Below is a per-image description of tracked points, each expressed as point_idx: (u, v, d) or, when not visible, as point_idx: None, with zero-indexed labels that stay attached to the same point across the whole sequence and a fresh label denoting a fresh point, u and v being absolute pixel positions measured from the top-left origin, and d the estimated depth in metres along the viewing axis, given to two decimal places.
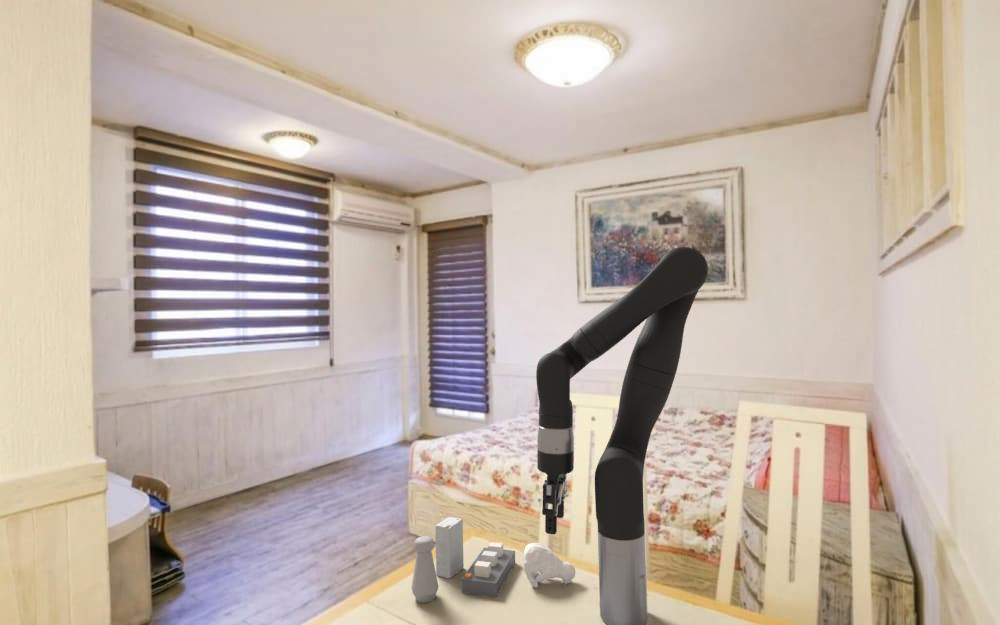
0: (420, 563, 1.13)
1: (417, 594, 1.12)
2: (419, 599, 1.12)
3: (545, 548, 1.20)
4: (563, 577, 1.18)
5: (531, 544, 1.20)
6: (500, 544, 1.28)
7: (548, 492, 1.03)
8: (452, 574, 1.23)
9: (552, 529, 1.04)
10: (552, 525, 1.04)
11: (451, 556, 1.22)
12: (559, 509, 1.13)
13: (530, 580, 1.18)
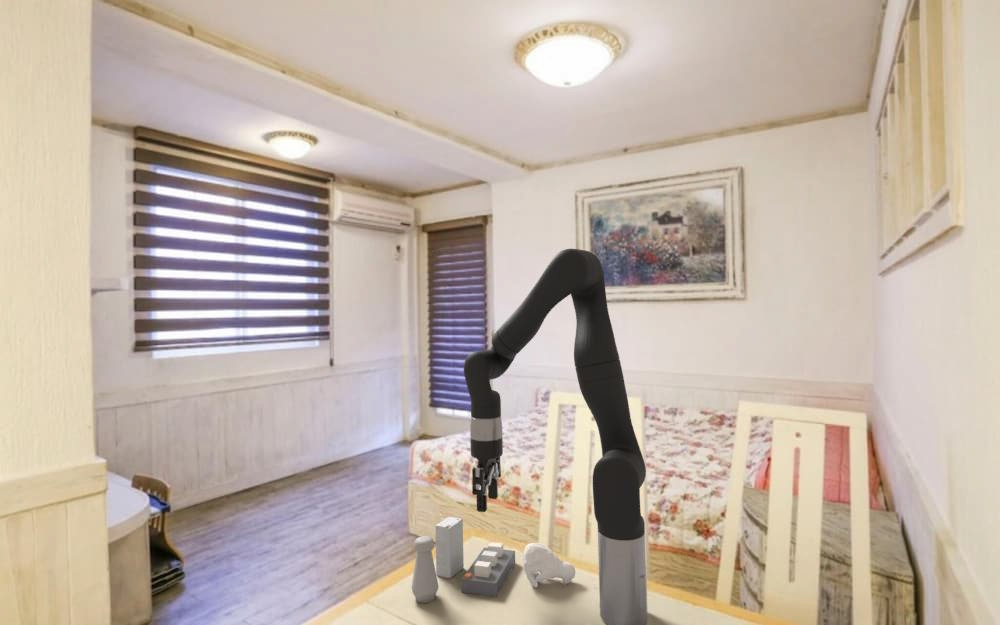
0: (420, 563, 1.13)
1: (417, 594, 1.12)
2: (419, 599, 1.12)
3: (545, 548, 1.20)
4: (563, 577, 1.18)
5: (531, 544, 1.20)
6: (500, 544, 1.28)
7: (477, 474, 1.16)
8: (452, 574, 1.23)
9: (482, 507, 1.18)
10: (482, 504, 1.18)
11: (451, 556, 1.22)
12: (493, 491, 1.26)
13: (530, 580, 1.18)
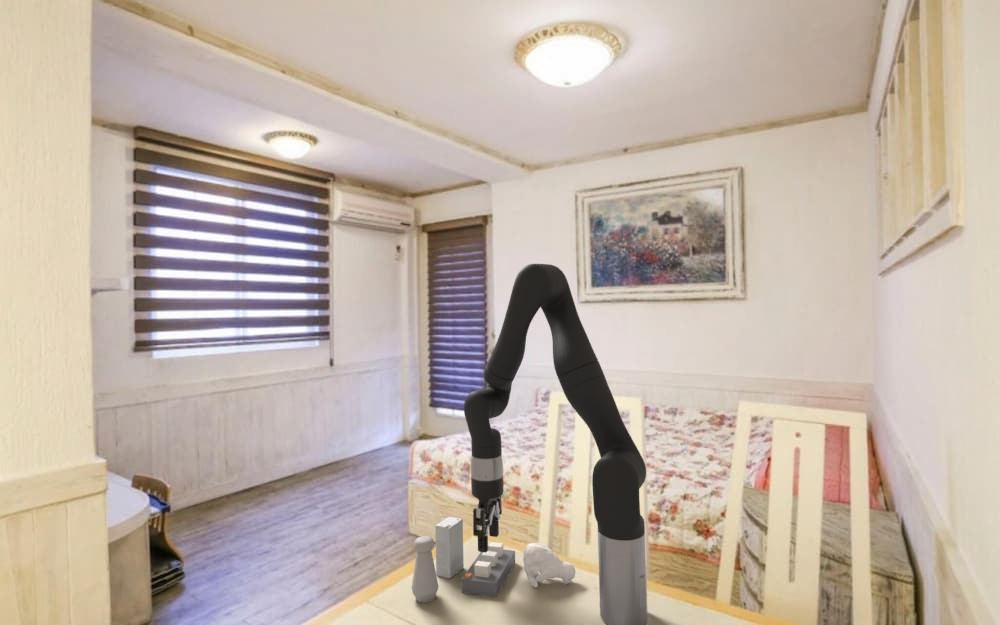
0: (420, 563, 1.13)
1: (417, 594, 1.12)
2: (419, 599, 1.12)
3: (545, 548, 1.20)
4: (563, 577, 1.18)
5: (531, 544, 1.20)
6: (500, 544, 1.28)
7: (478, 515, 1.16)
8: (452, 574, 1.23)
9: (483, 548, 1.18)
10: (483, 544, 1.18)
11: (451, 556, 1.22)
12: (494, 529, 1.26)
13: (530, 580, 1.18)
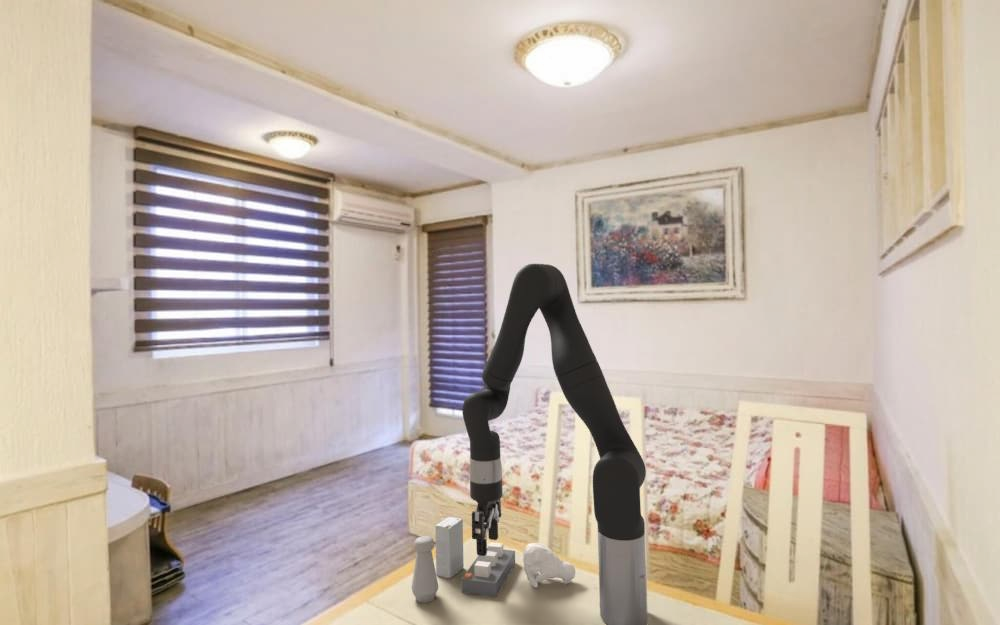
0: (420, 563, 1.13)
1: (417, 594, 1.12)
2: (419, 599, 1.12)
3: (545, 548, 1.20)
4: (563, 577, 1.18)
5: (531, 544, 1.20)
6: (500, 544, 1.28)
7: (476, 518, 1.15)
8: (452, 574, 1.23)
9: (482, 551, 1.16)
10: (482, 548, 1.16)
11: (451, 556, 1.22)
12: (493, 532, 1.25)
13: (530, 580, 1.18)
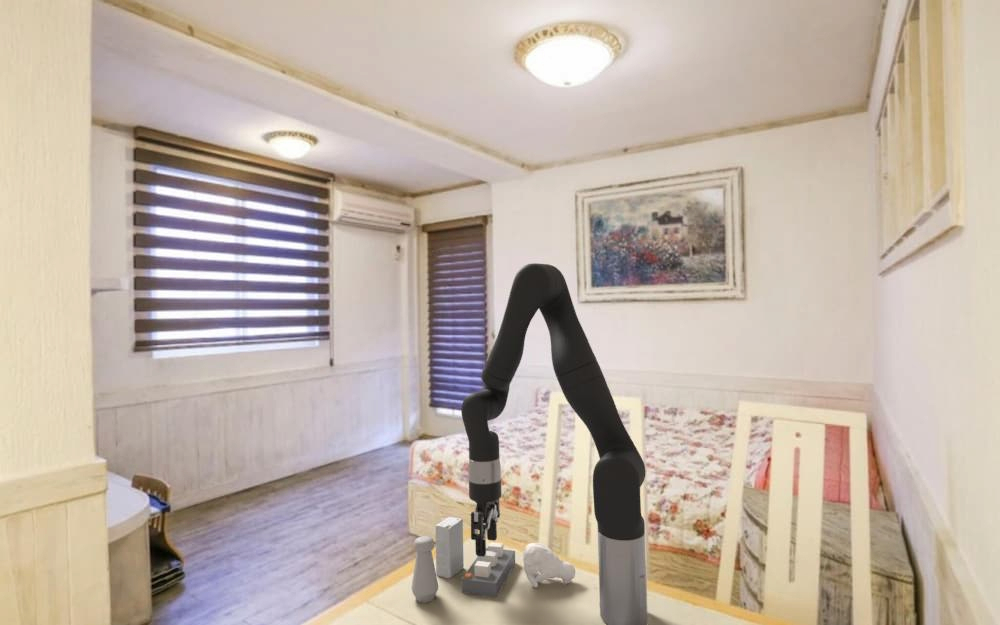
0: (420, 563, 1.13)
1: (417, 594, 1.12)
2: (419, 599, 1.12)
3: (545, 548, 1.20)
4: (563, 577, 1.18)
5: (531, 544, 1.20)
6: (500, 544, 1.28)
7: (475, 519, 1.15)
8: (452, 574, 1.23)
9: (481, 552, 1.16)
10: (481, 548, 1.16)
11: (451, 556, 1.22)
12: (492, 532, 1.25)
13: (530, 580, 1.18)
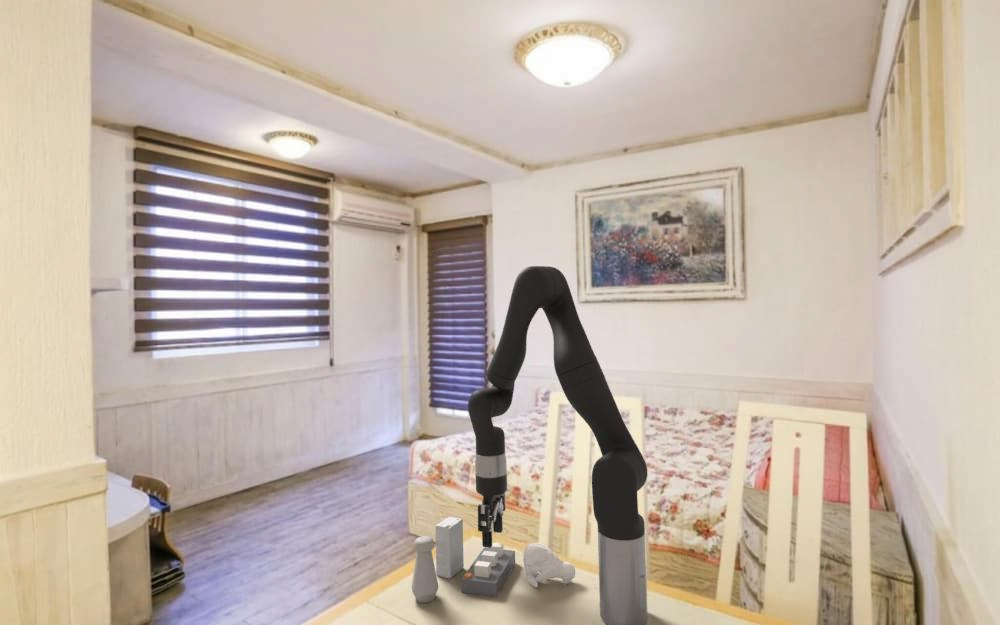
0: (420, 563, 1.13)
1: (417, 594, 1.12)
2: (419, 599, 1.12)
3: (545, 548, 1.20)
4: (563, 577, 1.18)
5: (531, 544, 1.20)
6: (500, 544, 1.28)
7: (482, 511, 1.19)
8: (452, 574, 1.23)
9: (487, 543, 1.20)
10: (487, 540, 1.20)
11: (451, 556, 1.22)
12: (498, 525, 1.29)
13: (530, 580, 1.18)
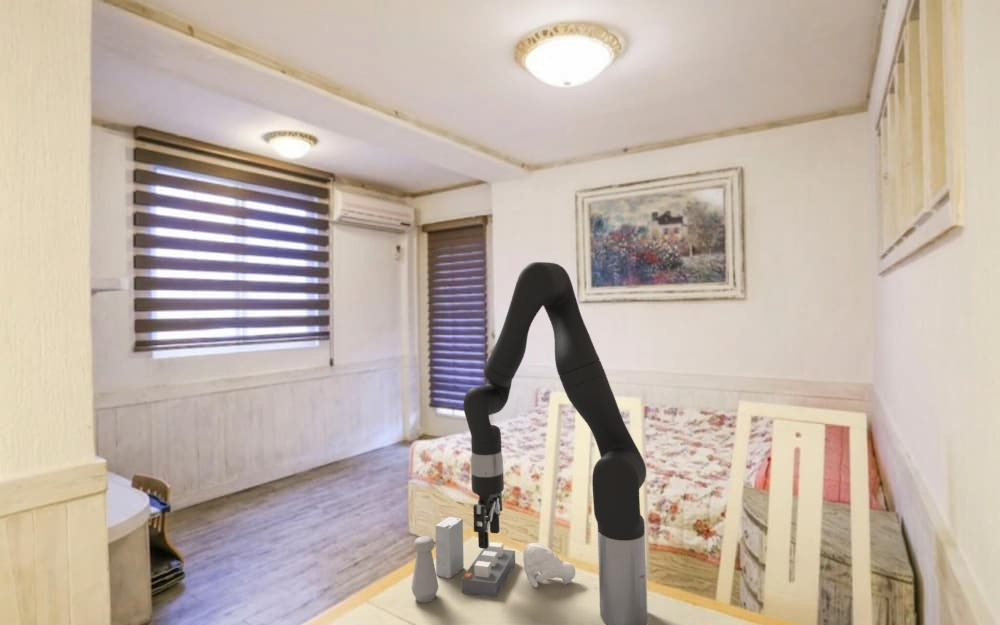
0: (420, 563, 1.13)
1: (417, 594, 1.12)
2: (419, 599, 1.12)
3: (545, 548, 1.20)
4: (563, 577, 1.18)
5: (531, 544, 1.20)
6: (500, 544, 1.28)
7: (478, 511, 1.16)
8: (452, 574, 1.23)
9: (484, 544, 1.18)
10: (484, 540, 1.18)
11: (451, 556, 1.22)
12: (495, 525, 1.26)
13: (530, 580, 1.18)
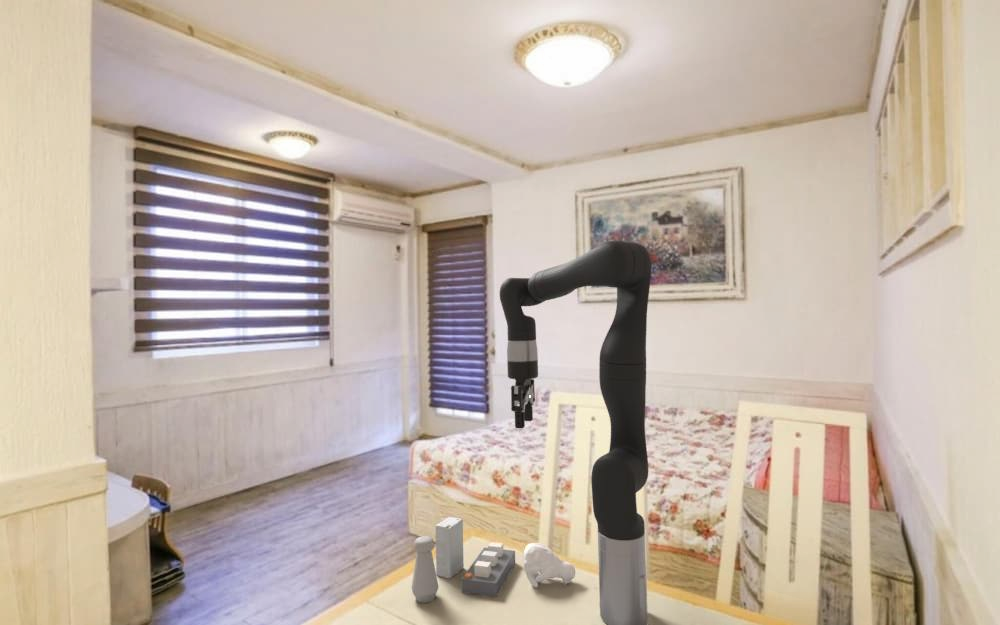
0: (420, 563, 1.13)
1: (417, 594, 1.12)
2: (419, 599, 1.12)
3: (545, 548, 1.20)
4: (563, 577, 1.18)
5: (531, 544, 1.20)
6: (500, 544, 1.28)
7: (515, 391, 1.23)
8: (452, 574, 1.23)
9: (520, 423, 1.24)
10: (520, 420, 1.24)
11: (451, 556, 1.22)
12: (528, 413, 1.33)
13: (530, 580, 1.18)
